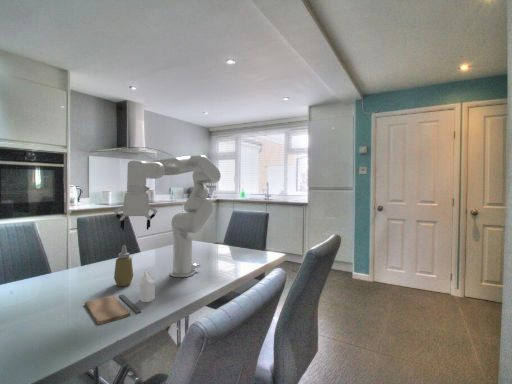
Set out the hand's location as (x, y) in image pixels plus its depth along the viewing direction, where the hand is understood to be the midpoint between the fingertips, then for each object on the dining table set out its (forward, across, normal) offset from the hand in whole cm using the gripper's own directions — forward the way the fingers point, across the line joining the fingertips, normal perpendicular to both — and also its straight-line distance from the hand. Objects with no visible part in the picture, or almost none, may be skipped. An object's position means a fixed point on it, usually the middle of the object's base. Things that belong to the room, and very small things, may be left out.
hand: (135, 229), depth 120 cm
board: (+27, +8, +16) cm, 32 cm away
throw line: (+27, +1, +12) cm, 30 cm away
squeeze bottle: (+27, +5, -11) cm, 30 cm away
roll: (+27, -6, +10) cm, 29 cm away
